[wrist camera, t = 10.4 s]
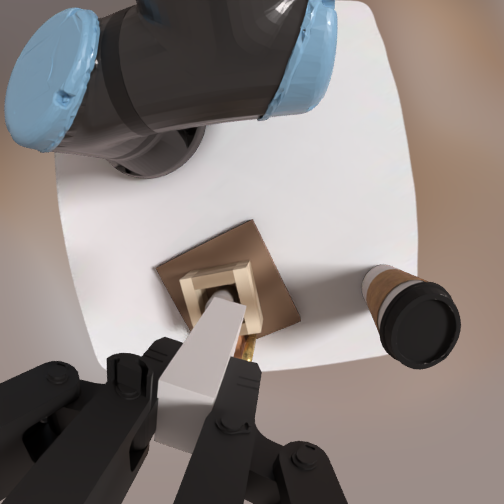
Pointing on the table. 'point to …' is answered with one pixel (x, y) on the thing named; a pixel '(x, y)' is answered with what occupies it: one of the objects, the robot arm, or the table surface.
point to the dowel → (249, 347)
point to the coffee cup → (411, 316)
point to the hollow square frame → (219, 276)
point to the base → (265, 275)
